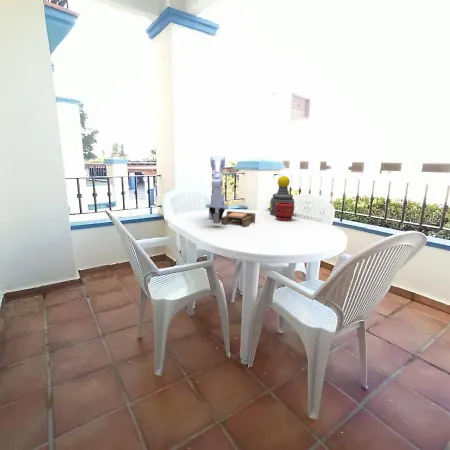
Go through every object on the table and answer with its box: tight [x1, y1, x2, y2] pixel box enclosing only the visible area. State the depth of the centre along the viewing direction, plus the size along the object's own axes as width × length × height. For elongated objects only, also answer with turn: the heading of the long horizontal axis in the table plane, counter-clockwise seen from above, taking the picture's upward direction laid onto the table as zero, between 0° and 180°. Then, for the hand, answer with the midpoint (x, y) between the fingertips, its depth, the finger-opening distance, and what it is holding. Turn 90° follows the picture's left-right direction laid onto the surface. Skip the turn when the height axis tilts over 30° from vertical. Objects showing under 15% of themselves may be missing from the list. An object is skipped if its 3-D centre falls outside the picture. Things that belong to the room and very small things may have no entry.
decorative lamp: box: [269, 175, 295, 217], centre depth 213 cm, size 19×19×30 cm
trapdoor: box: [228, 213, 247, 218], centre depth 184 cm, size 10×10×1 cm
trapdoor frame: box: [221, 210, 256, 228], centre depth 185 cm, size 20×16×6 cm
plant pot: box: [275, 202, 295, 222], centre depth 197 cm, size 13×13×12 cm
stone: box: [212, 213, 222, 224], centre depth 174 cm, size 4×4×6 cm
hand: (216, 219), depth 175 cm, fingers closed on stone, 4 cm apart
